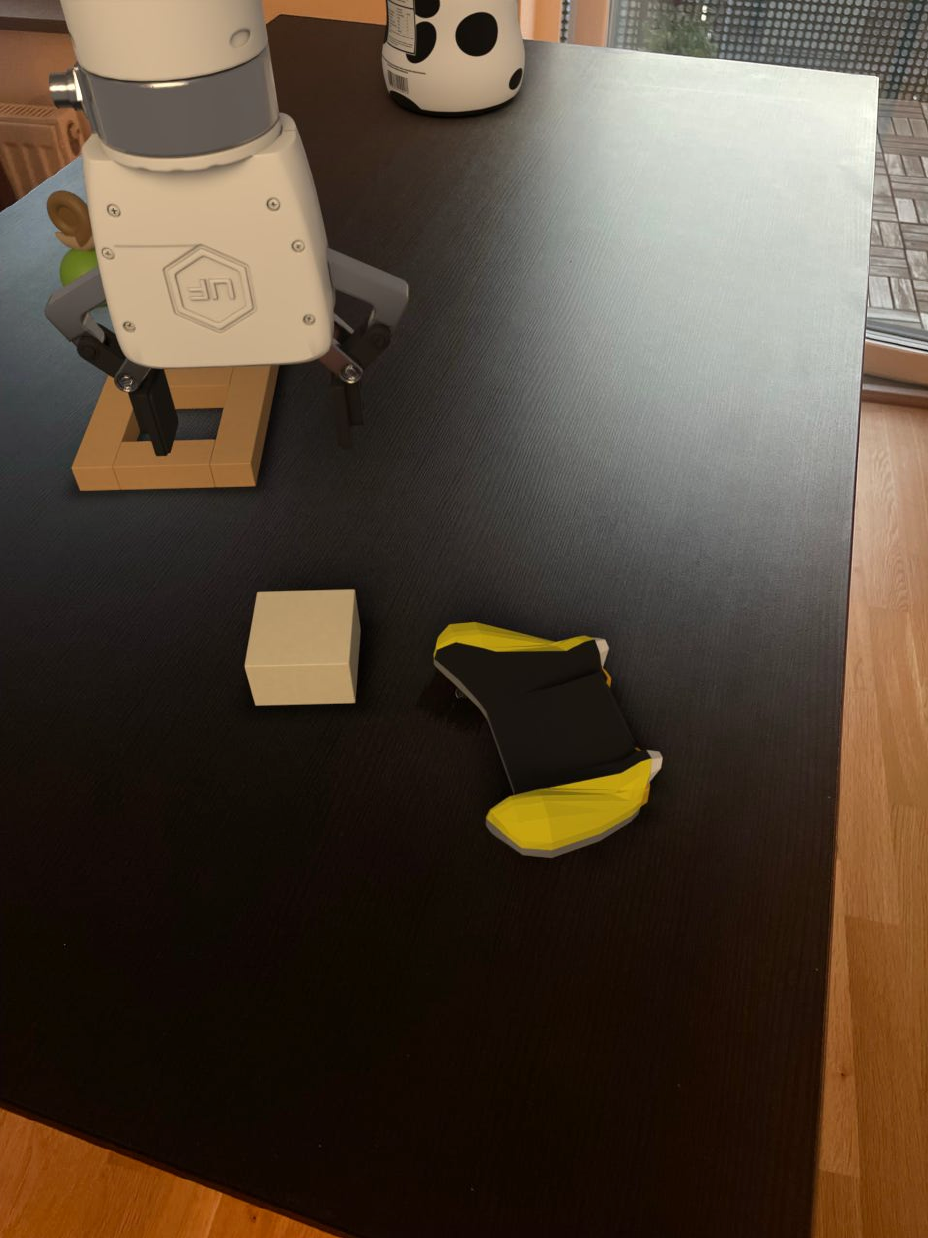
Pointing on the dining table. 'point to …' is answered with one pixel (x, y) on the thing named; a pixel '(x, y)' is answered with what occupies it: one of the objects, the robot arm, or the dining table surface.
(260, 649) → the cream block
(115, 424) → the frame
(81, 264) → the snail figurine
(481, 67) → the milk container
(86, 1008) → the dining table surface
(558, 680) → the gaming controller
